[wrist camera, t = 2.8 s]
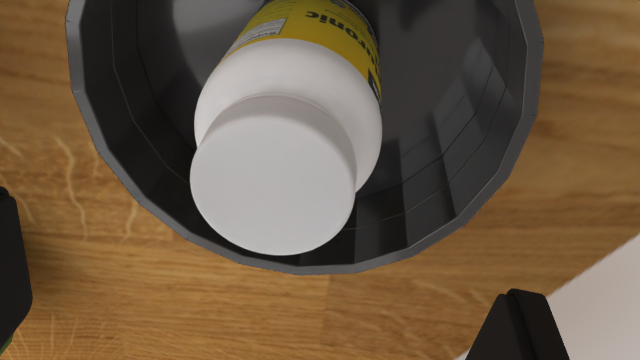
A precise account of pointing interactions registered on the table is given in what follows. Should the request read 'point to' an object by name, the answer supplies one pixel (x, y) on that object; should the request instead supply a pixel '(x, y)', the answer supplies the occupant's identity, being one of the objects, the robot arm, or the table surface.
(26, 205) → the table surface
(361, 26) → the supplement bottle
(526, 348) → the robot arm
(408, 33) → the pan
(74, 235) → the table surface
